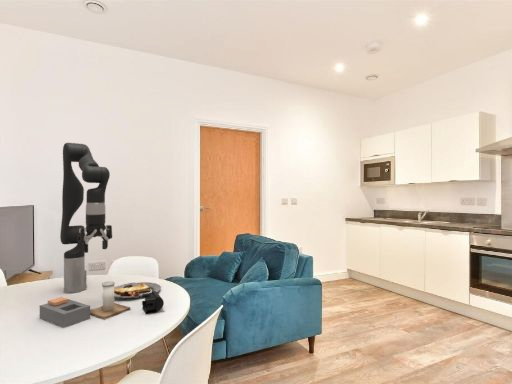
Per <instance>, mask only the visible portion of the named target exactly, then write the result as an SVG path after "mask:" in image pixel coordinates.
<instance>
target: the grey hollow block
mask: <svg viewBox="0 0 512 384" xmlns="http://www.w3.org/2000/svg"><path fill="white" fill-rule="evenodd" d="M67 299H68V302H66V303H64V304H60V305H57V306H54V305H51V304H48V302H47V303H43V304H41V305H40V304H39V319H41V320H44V321H46V322H49V323H51V324H54V325H56V326H58V327H61V328H63V329H65V328H67V327H70V326H73V325H75V324H78V323H81V322H84V321H87V320H90V319H91V315H90V310H91V305H89V304H86V303H82V302H79V301H76V300H73V299H69V298H67Z"/></svg>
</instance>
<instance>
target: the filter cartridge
mask: <svg viewBox="0 0 512 384" xmlns="http://www.w3.org/2000/svg"><path fill="white" fill-rule="evenodd" d="M101 287H102V306H103V311H111V310H114V309H115V305H114V303H115V297H114V287H115V281H111V280H110V281H105V282H101Z"/></svg>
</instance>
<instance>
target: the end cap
mask: <svg viewBox="0 0 512 384" xmlns="http://www.w3.org/2000/svg"><path fill="white" fill-rule="evenodd" d="M151 292H152V293H150V292H147V293H145V294H142V297H141V299H144V300H142V301H141V305H142V310H143V312H144V314H145V315H151V314H157V313H159V311H161V310H162V309H163V306H164V299H163V298H162V297H161V295H160V294H159V293H158V292H156V291H152V290H151Z"/></svg>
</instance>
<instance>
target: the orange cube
mask: <svg viewBox="0 0 512 384" xmlns="http://www.w3.org/2000/svg"><path fill="white" fill-rule="evenodd" d="M68 299H69V298H66V297H63V296H59V297H56V298H53V299H52V298H51V299H49V300H47V303H48V304H51V305H54V306H57V305H60V304H64V303H66V302H68Z"/></svg>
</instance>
